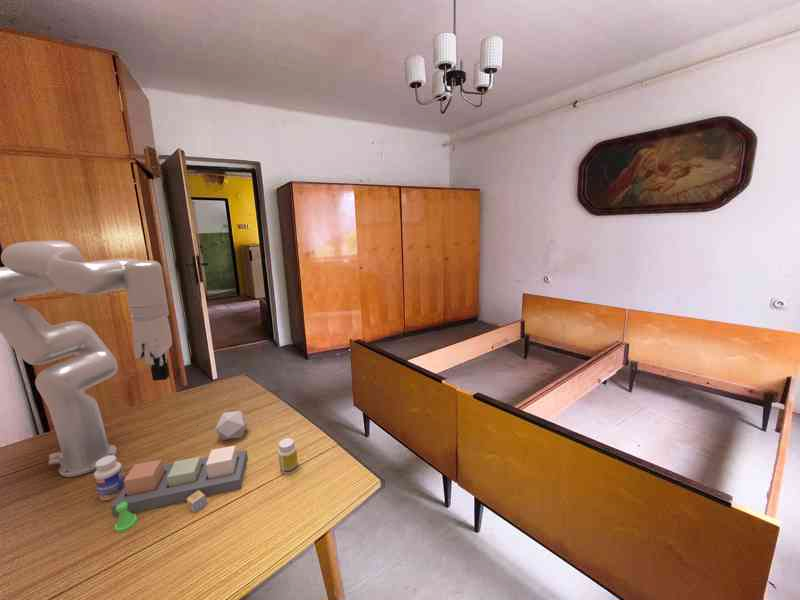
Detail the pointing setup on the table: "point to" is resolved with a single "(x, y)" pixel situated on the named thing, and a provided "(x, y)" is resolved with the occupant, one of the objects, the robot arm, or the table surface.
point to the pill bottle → (109, 477)
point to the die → (231, 425)
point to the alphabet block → (196, 501)
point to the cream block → (221, 462)
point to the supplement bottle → (287, 456)
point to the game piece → (124, 518)
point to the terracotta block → (144, 477)
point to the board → (183, 488)
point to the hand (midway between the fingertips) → (161, 378)
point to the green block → (185, 472)
